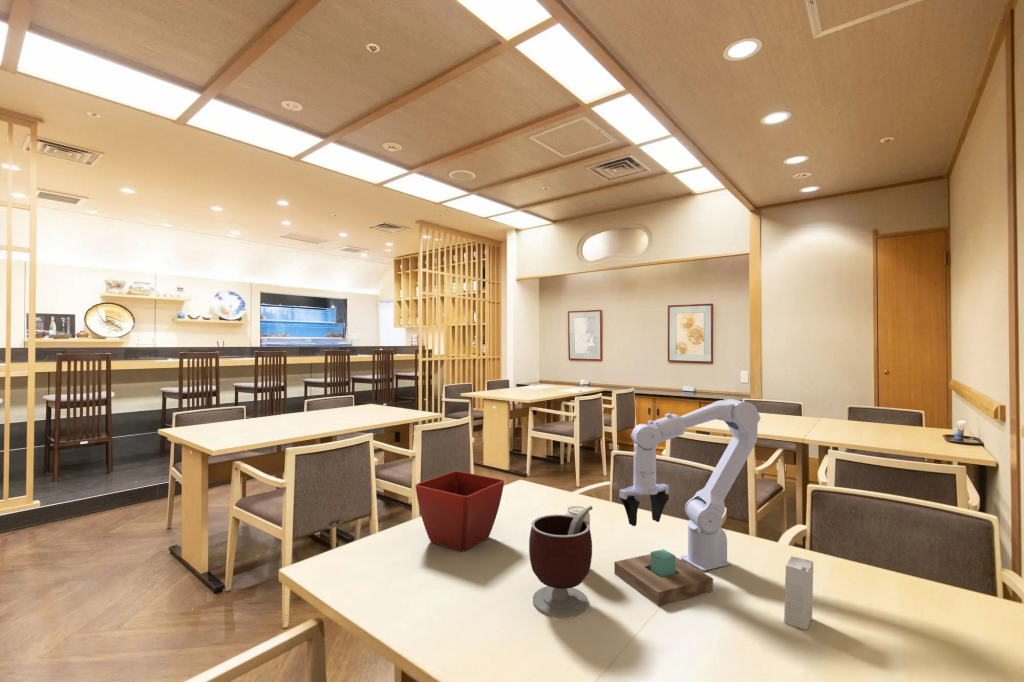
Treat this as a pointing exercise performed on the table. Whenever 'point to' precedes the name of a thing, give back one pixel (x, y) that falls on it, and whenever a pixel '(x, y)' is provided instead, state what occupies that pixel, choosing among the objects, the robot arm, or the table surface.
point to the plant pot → (459, 508)
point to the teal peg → (662, 563)
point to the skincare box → (798, 592)
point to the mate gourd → (560, 562)
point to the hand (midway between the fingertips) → (644, 522)
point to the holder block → (663, 580)
